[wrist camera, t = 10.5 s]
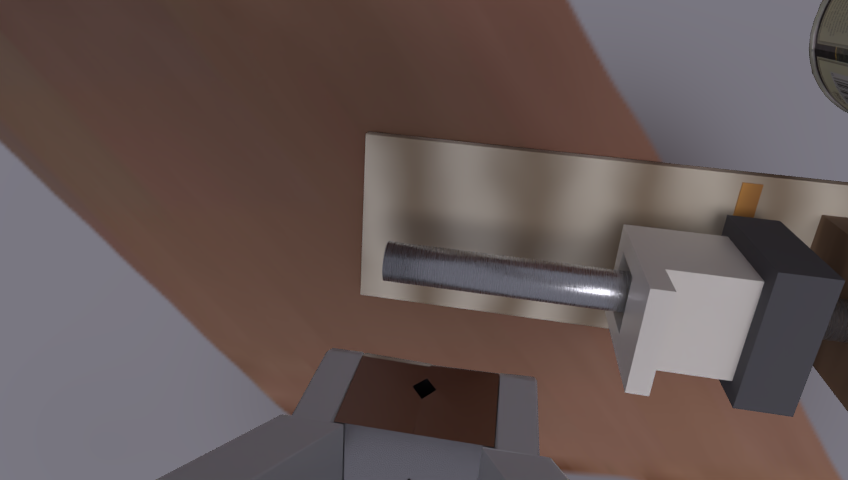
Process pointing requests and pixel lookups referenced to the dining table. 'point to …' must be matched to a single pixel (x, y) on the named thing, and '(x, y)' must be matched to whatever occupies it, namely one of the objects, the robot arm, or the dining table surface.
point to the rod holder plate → (573, 216)
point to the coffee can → (831, 51)
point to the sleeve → (681, 306)
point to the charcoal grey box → (780, 316)
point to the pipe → (530, 279)
